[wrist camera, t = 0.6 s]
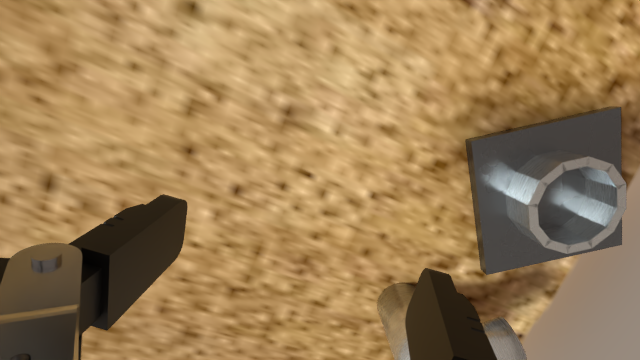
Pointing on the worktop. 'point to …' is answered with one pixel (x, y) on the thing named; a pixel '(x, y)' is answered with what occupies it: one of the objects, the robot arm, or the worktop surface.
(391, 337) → the duct elbow
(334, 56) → the worktop surface
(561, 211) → the duct collar
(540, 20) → the worktop surface
